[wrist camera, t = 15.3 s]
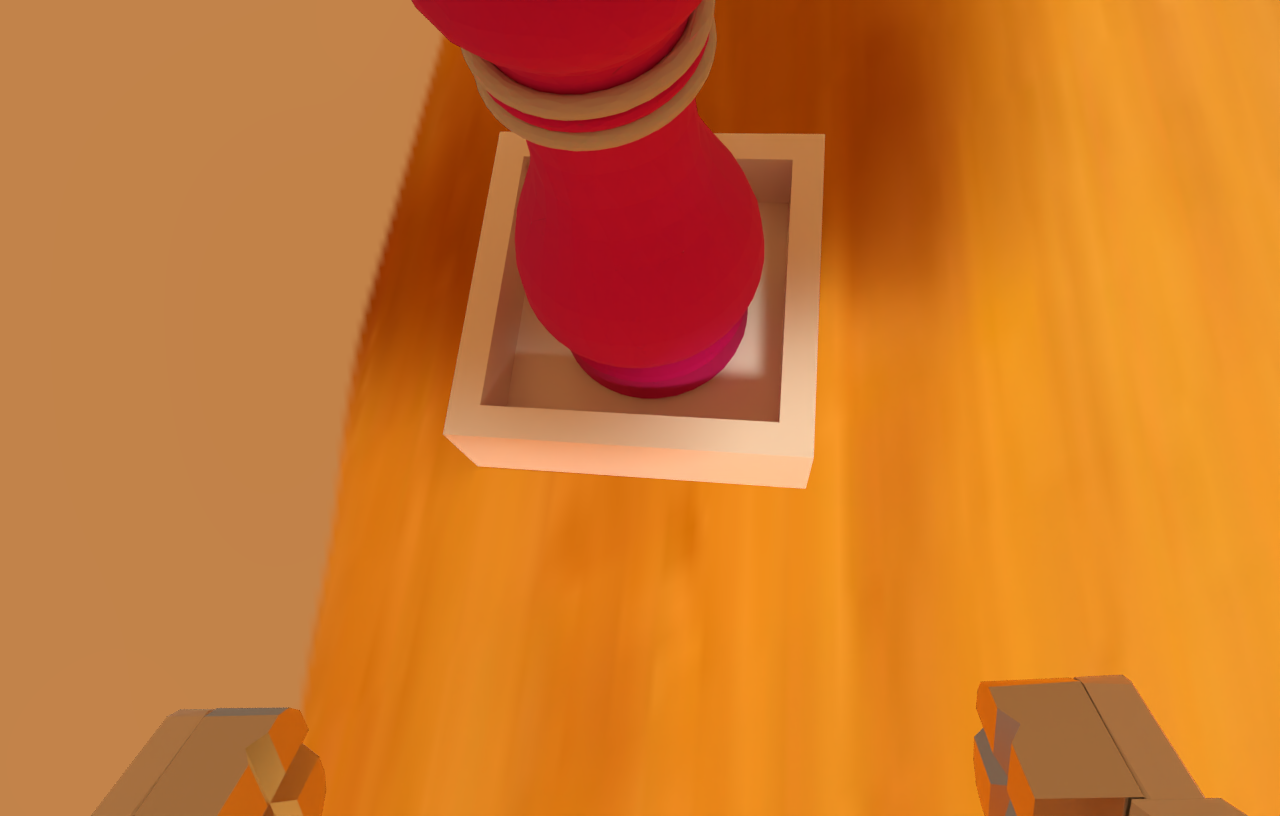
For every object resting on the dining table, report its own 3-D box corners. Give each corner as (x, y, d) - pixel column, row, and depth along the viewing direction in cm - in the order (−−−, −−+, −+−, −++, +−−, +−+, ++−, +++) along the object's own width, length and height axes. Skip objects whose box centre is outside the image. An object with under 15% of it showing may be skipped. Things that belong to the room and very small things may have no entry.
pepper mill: (534, 253, 30) (186, -500, 11) (730, 201, 30) (702, -655, 11) (573, 438, 28) (207, -143, 9) (788, 383, 27) (877, -334, 9)
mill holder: (816, 195, 31) (825, 134, 27) (805, 488, 27) (813, 457, 24) (525, 190, 32) (499, 131, 29) (477, 466, 29) (443, 434, 25)
